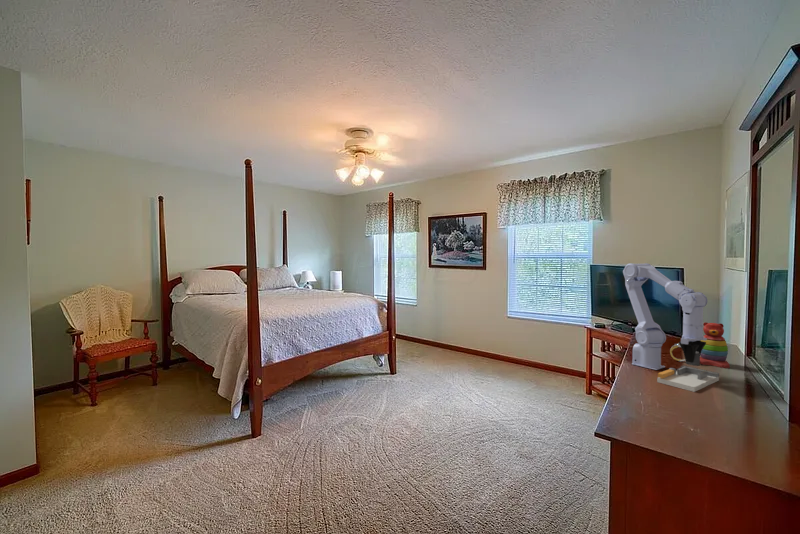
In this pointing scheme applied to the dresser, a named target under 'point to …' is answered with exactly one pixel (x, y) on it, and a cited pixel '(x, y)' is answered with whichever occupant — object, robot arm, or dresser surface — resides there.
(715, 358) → the stacking bear
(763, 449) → the dresser surface
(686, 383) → the white tray
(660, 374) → the orange-brown long box
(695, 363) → the plug
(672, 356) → the ring
